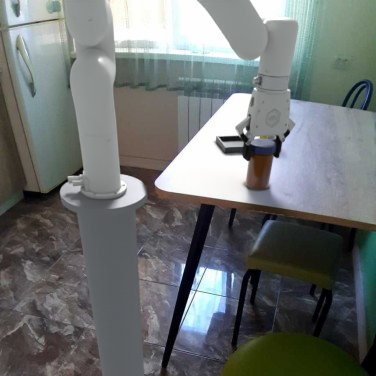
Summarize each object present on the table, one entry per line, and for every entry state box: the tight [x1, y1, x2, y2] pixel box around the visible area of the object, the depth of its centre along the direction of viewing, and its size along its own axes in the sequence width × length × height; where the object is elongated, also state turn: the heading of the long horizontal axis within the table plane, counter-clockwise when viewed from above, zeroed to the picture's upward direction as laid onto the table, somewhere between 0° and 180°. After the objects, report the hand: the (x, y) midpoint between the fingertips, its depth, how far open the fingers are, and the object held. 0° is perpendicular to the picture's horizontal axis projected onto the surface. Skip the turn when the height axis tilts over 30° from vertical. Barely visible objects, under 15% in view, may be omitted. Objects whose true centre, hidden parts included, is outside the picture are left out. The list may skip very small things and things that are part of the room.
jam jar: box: [245, 152, 275, 191], centre depth 111 cm, size 6×6×11 cm
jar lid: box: [251, 138, 276, 155], centre depth 108 cm, size 7×7×2 cm
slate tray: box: [215, 134, 255, 154], centre depth 137 cm, size 12×11×2 cm
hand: (260, 157), depth 110 cm, fingers open, 8 cm apart
